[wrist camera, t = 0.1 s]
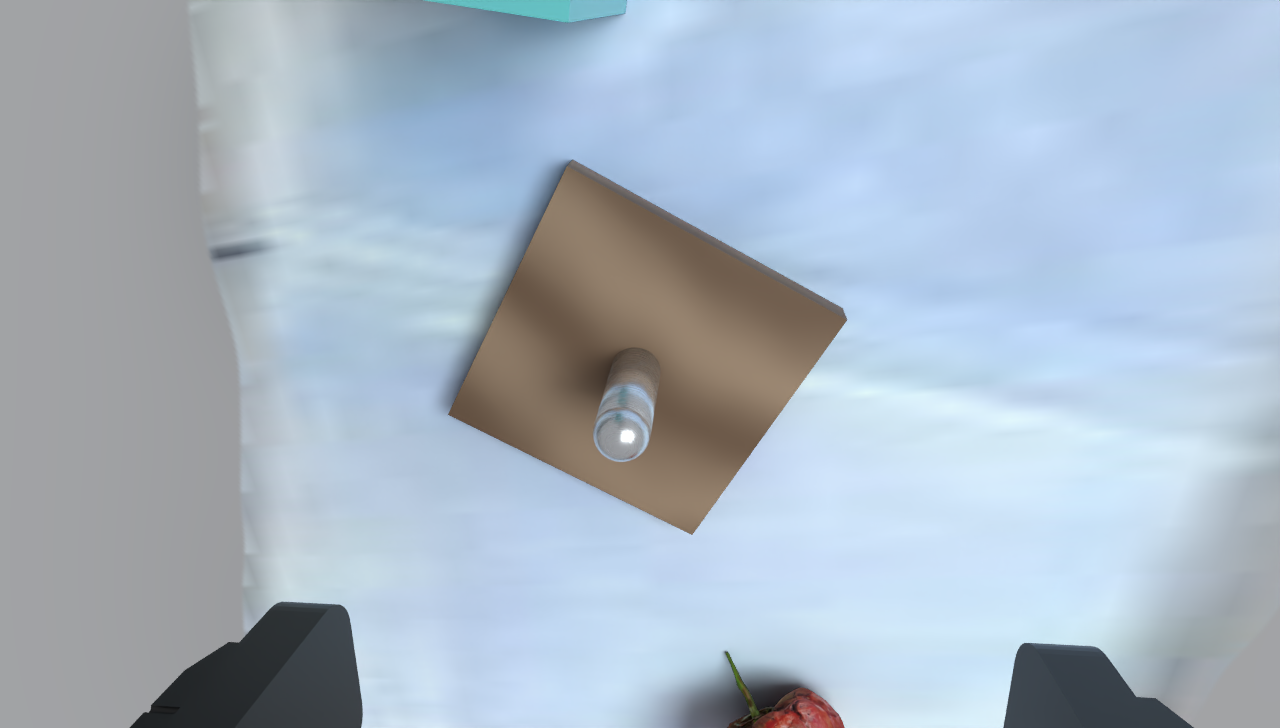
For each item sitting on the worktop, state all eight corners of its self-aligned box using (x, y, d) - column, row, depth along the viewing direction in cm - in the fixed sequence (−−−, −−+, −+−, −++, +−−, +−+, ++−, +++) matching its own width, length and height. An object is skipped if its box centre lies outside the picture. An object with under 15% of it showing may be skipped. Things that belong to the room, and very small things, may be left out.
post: (625, 339, 30) (604, 412, 25) (669, 362, 31) (658, 439, 25) (603, 377, 31) (578, 456, 26) (646, 399, 32) (630, 482, 26)
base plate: (572, 159, 29) (566, 165, 28) (842, 308, 30) (847, 320, 29) (456, 401, 34) (447, 414, 33) (693, 518, 35) (692, 534, 34)
